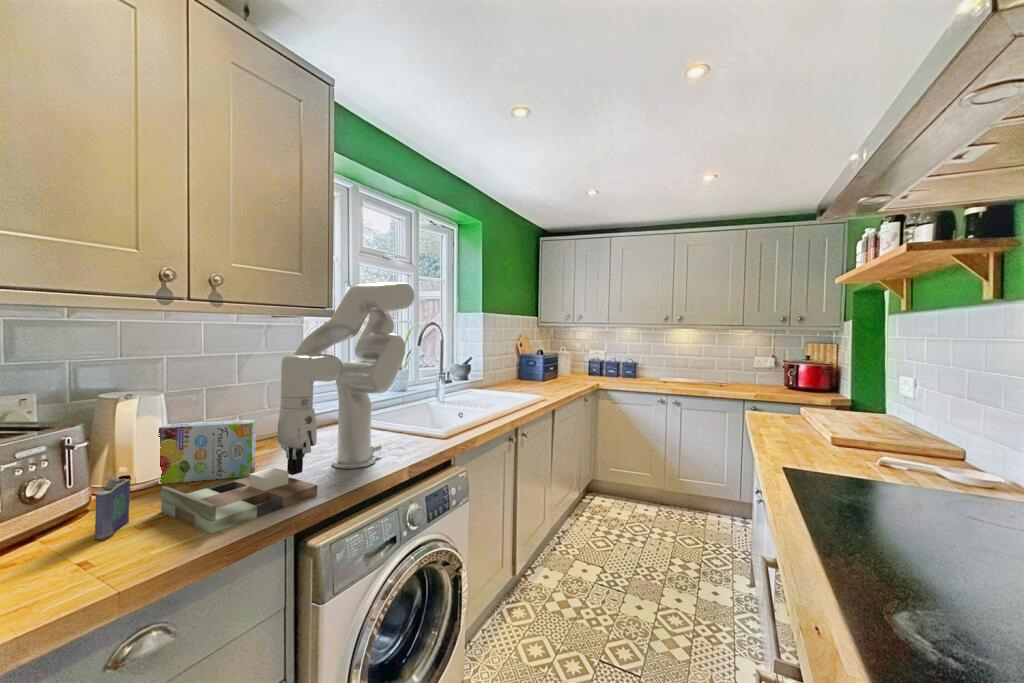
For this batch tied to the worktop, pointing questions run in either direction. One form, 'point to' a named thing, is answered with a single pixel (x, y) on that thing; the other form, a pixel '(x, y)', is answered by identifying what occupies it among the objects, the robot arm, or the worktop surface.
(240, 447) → the snack box
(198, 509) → the box
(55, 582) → the worktop surface
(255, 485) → the block
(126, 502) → the flask
